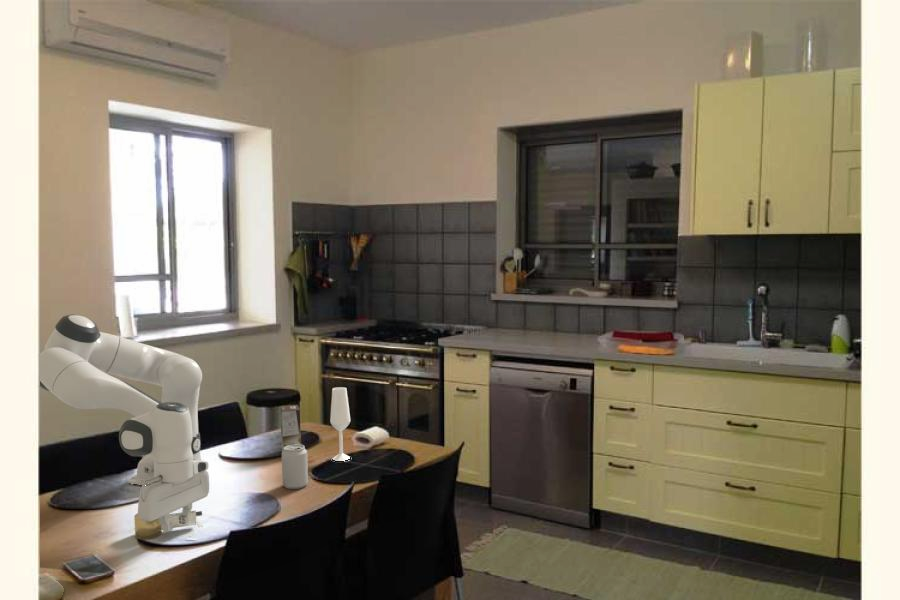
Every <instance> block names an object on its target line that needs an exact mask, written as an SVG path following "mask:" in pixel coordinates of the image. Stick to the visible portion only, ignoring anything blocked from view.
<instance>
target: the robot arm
mask: <svg viewBox="0 0 900 600" xmlns="http://www.w3.org/2000/svg"><path fill="white" fill-rule="evenodd" d="M39 354H40V386H39V387H40V388H41V389H43V390H45V391H46V392H47V391H48V392H50V393H52V394H53V395H54V396H55V397H56V398H57V399H58V400H60V401H61V402H63V403H65V404H66V405H68V406H70V407H72V408H74V409H78V410H92V409H93V410H94V409H95V410H97V409H116V410H120V411H121V410H122V411H125V412H127V413H130V414H131V415H132V416H134V417H131V418H129V419H127V420H125V421H124V422H123V423H122V425H121V426H120V429H119V433H118V441H119V445H120V447H121V449H122V450H123V452H125V453H126V454H127V455H129V456H131V457H142V459H141V460H139V462H138V464H137V468H136V474H135V475H133V476H131V477H130V478H129V480H128V484H129V483H132V484H131V485H133V484H140V485H143V486H140V490H139V491H140V492H139V497H138V503H137V504H138V505H137V513H138V517H139V518H140V520H143V521H153V520H156V519H159V521H160V522H161V524H162V533H163V532H164V533H169V532H170V531H172V530H173V529H174V528H173V527H172V526H173V523H169V521H168V519H167V518H169V514H172V513H173V512H175V511H179V510H180V509H182V511H181V512H182V514H181V516H179V523H180V524H185V523H188V522H189V514H190V512H191V511H192V508H193V504H194V503H196V502H198V501H200V500H202V499H204V498H206V497H207V498H208V495H209V493H210V476H209V472H208V469H209V462H208V461H206V460H202V456H201V433H200V432H199V419H198V418H199V417H198V415H199V414H198V409H199V407H198V406H199V397H200V390H201V383H202V381H203V372H202V369H201V367H200V366H199V364H198V363H197V362H196V361H195V360H194V359H192V358H190V357H188V356H186V355H185V356H184V355H182V354H180V353H176V352H174V351H169V350H167V349H163V348H159V347H156V346H152V345H149V344H145V343H142V342H140V341H139V342H138V341H135V340H132V339H128V338H127V337H122V336H119V335H115V334H112V333H108V332H103V331H99V328H98V326H97V324H96V322H94V320H92V319H90V318H88V317H86V316H82V315H79V314H67V315H63V316H62V317H61V318H60V319H59V320H58V322H57V323H56V325H55V327H54V330H53V331H52V333H51V334H50V336H49V338H48V339H47V341H46V343H45V346H44V350H43V351H42V352H40V353H39ZM112 375H114V376H116V377H114V376H112ZM117 377H121V378H125V379H127V380H132V381H137V382H143V383H147V384H151V385H154V386H159V387H161V393H162V394H161V401H160V400H158V399H156V398H154V397H153V396H152V395H149V394H148V393H146V392H144V391H143V390H141V389H140V388H138V387H136V386H134V385H132V384H130V383H128V382H125V380H124V381H123V380H121V379H119V378H117ZM143 456H144V457H143ZM145 485H146V486H145Z"/></svg>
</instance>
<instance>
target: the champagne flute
mask: <svg viewBox="0 0 900 600" xmlns="http://www.w3.org/2000/svg"><path fill="white" fill-rule="evenodd" d="M329 419H330V421H329V422H330V424H331V426H332V428H334V429H335V430H336V431H338V444H339V453H338V454H337V455H335V456H334V457H332V458H331V460H332V459H333V460H335V461H344V462H346V461H345V460H348V459H350V457H351V456H349V455H347V454H345V453H344V442H343V441H344V440H343V431H344V430H346V428H347V427H348V426H349V425H350V423H351V414H350V406H349V397H348V391H347V387H344V386H343V387H342V386H340V387H339V386H338V387H333V388H332V390H331V403H330V418H329ZM335 461H334V462H335ZM348 461H349V460H348Z"/></svg>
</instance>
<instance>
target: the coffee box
mask: <svg viewBox="0 0 900 600" xmlns="http://www.w3.org/2000/svg"><path fill="white" fill-rule="evenodd" d="M279 409H280V410H279V411H280V412H279V413H280V435H281V439H280V440H281V453H282V452H283V451H284V447H285V446H288V445H295V444H299V445H302V436H301V433H302V432H301V430H302V429H301V409H300V407H299V405H298V404H290V405H281V406H280V407H279Z"/></svg>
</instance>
